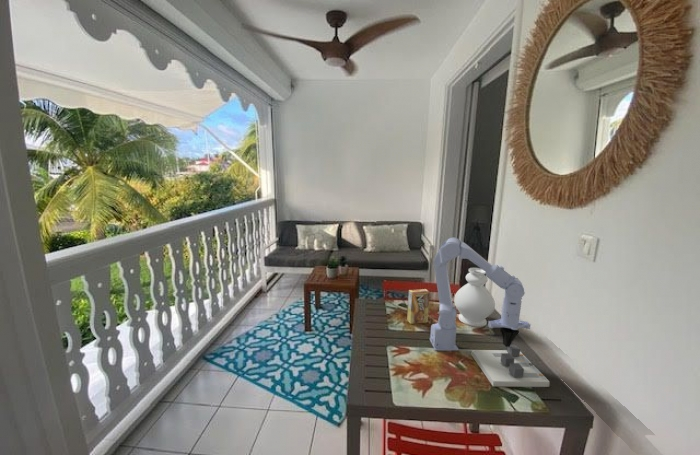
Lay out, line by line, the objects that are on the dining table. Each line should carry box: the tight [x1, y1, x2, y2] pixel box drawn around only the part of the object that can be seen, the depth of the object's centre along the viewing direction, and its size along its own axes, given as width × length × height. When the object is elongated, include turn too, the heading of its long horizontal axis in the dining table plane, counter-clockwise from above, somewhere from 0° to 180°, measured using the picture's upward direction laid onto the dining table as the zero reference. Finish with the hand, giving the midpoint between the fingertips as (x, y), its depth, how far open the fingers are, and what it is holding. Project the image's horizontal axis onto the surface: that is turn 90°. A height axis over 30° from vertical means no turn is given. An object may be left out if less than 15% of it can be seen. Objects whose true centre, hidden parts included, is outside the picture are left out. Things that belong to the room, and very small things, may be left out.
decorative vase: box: [453, 267, 496, 328], centre depth 135 cm, size 18×18×25 cm
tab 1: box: [506, 344, 521, 357], centre depth 107 cm, size 3×3×3 cm
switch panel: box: [470, 349, 550, 388], centre depth 102 cm, size 18×17×2 cm
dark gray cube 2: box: [501, 353, 514, 366], centre depth 101 cm, size 3×3×3 cm
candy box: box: [406, 288, 431, 325], centre depth 133 cm, size 9×4×15 cm, turn 103°
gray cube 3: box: [509, 363, 524, 377], centre depth 96 cm, size 3×3×3 cm
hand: (506, 345), depth 106 cm, fingers closed
